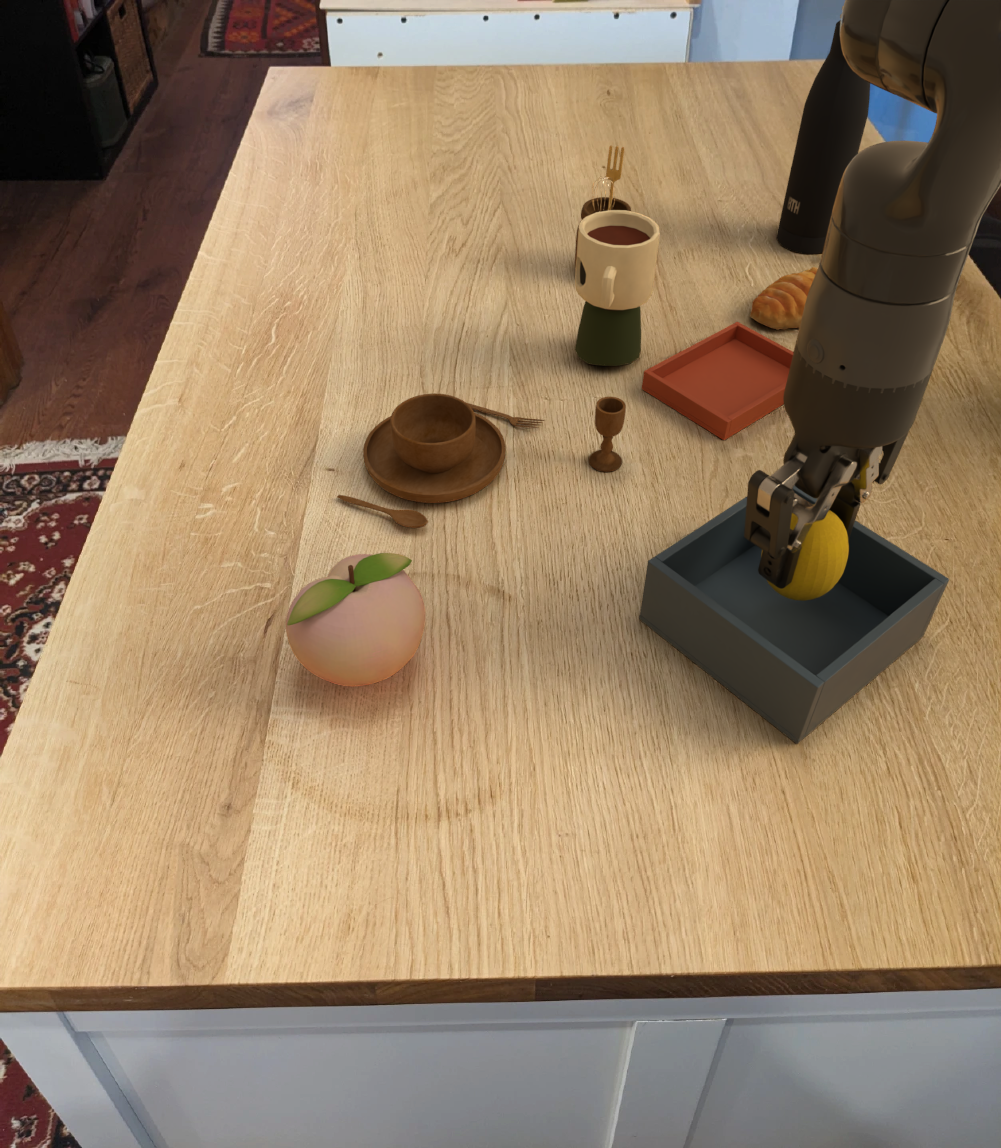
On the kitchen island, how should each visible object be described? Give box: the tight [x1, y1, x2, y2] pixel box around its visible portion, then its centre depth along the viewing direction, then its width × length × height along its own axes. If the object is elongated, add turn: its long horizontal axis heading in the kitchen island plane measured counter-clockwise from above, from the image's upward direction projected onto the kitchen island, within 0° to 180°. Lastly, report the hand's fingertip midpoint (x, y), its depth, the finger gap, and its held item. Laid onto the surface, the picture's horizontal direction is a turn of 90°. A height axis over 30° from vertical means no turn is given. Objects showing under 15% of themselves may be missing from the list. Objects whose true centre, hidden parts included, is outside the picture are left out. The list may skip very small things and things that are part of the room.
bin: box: [638, 485, 950, 745], centre depth 71 cm, size 14×14×6 cm
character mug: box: [574, 210, 660, 367], centre depth 93 cm, size 11×7×13 cm, turn 166°
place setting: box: [336, 392, 627, 529], centre depth 83 cm, size 18×20×6 cm
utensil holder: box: [574, 145, 632, 269], centre depth 105 cm, size 6×6×12 cm
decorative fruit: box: [285, 552, 426, 687], centre depth 67 cm, size 9×8×10 cm
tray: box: [641, 321, 794, 441], centre depth 94 cm, size 13×10×2 cm
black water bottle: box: [776, 5, 871, 255], centre depth 103 cm, size 6×6×30 cm
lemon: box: [761, 504, 849, 601], centre depth 68 cm, size 6×6×8 cm
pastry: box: [749, 266, 818, 331], centre depth 102 cm, size 9×7×4 cm
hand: (803, 557), depth 69 cm, fingers closed on lemon, 5 cm apart
